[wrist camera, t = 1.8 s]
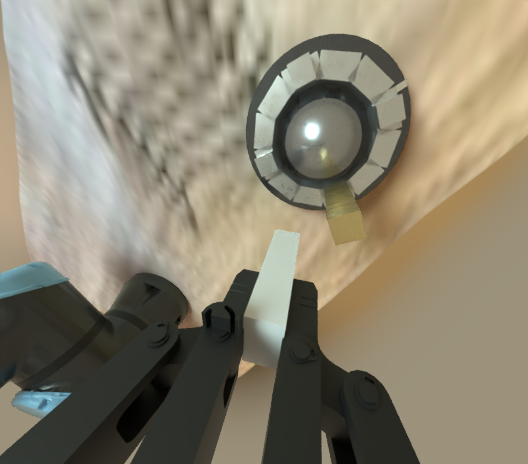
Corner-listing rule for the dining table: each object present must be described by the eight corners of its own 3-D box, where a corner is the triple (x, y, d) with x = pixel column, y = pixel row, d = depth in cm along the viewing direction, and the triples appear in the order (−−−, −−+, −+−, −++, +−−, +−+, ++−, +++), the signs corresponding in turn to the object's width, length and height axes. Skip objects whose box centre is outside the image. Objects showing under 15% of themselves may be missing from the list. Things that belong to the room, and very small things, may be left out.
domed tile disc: (286, 211, 29) (270, 260, 19) (241, 102, 24) (188, 90, 14) (399, 175, 24) (461, 215, 14) (375, 25, 19) (444, -81, 9)
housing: (280, 219, 32) (272, 242, 26) (226, 94, 26) (200, 86, 20) (413, 178, 26) (443, 196, 20) (388, -4, 19) (421, -60, 13)
